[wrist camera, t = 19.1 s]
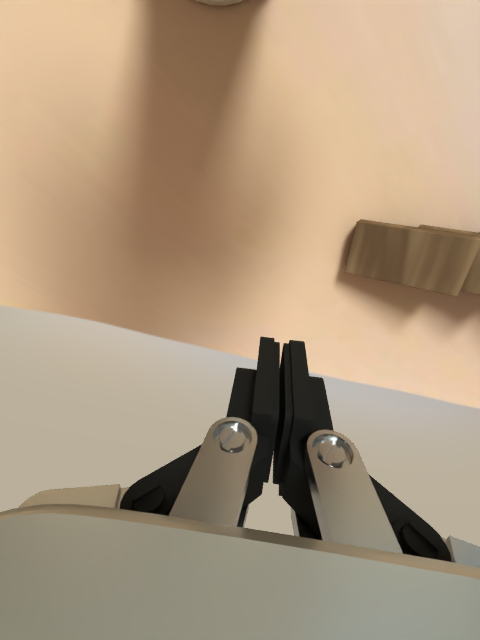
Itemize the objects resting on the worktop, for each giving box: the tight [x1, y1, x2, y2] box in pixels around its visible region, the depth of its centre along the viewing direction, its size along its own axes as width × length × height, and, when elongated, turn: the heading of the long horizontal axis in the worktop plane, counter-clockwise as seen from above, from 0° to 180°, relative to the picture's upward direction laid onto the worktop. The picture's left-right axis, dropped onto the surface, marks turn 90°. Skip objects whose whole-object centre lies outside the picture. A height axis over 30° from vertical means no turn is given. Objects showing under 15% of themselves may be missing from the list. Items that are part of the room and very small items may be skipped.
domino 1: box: [345, 219, 480, 296], centre depth 29 cm, size 2×5×10 cm
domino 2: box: [419, 225, 480, 295], centre depth 28 cm, size 2×5×10 cm
